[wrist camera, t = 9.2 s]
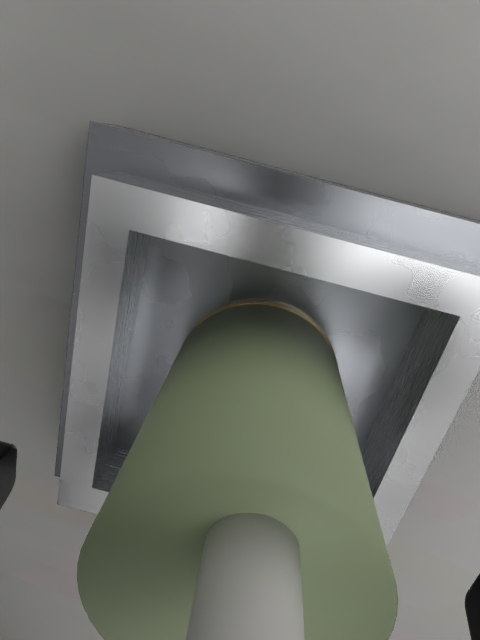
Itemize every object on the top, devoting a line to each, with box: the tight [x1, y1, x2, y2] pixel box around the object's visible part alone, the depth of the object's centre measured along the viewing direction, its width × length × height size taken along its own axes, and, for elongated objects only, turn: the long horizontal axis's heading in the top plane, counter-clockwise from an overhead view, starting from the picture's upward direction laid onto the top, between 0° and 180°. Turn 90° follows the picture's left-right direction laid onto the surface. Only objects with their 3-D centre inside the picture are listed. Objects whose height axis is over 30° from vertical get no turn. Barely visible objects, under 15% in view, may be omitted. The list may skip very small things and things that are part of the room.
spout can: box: [77, 304, 398, 640], centre depth 9 cm, size 5×5×9 cm
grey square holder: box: [55, 121, 480, 547], centre depth 13 cm, size 12×12×4 cm
